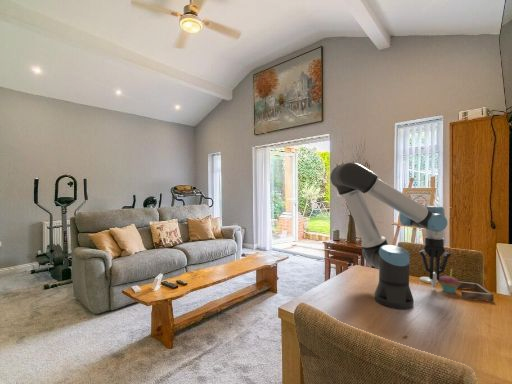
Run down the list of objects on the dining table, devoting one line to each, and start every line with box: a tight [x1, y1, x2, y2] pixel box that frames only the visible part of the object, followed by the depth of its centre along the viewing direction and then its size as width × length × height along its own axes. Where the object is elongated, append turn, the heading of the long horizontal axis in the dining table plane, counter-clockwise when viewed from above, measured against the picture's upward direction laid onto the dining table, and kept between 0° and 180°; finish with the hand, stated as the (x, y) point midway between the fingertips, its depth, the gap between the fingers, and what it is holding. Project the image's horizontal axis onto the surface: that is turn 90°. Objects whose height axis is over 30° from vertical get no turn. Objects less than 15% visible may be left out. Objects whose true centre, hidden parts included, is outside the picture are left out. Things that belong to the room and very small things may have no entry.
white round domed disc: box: [419, 276, 439, 284], centre depth 139 cm, size 8×8×1 cm
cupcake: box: [438, 267, 460, 294], centre depth 125 cm, size 9×8×12 cm
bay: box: [457, 281, 495, 302], centre depth 122 cm, size 11×14×3 cm
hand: (433, 285), depth 127 cm, fingers closed
